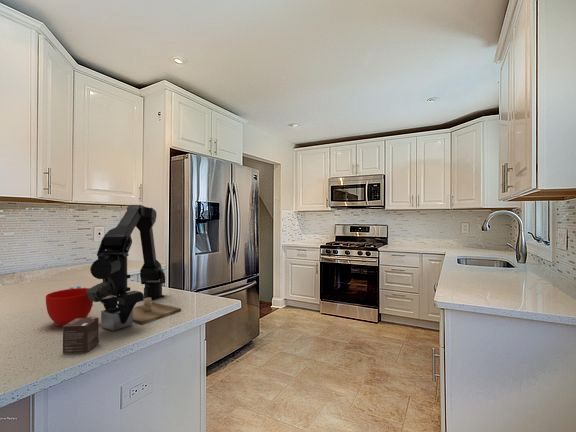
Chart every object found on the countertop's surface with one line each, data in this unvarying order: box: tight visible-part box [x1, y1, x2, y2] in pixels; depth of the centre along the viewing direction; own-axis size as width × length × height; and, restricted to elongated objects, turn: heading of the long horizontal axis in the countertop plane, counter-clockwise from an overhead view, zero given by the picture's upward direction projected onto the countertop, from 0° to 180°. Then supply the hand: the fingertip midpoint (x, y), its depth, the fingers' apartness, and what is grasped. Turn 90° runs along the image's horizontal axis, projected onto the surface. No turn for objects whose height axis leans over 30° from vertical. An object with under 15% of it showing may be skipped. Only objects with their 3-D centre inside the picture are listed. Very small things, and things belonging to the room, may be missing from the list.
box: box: [62, 317, 100, 355], centre depth 81 cm, size 6×6×7 cm
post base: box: [133, 298, 182, 326], centre depth 110 cm, size 16×16×6 cm
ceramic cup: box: [45, 287, 94, 328], centre depth 102 cm, size 13×17×10 cm
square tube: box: [100, 306, 134, 332], centre depth 97 cm, size 6×6×5 cm
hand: (117, 321), depth 97 cm, fingers closed on square tube, 6 cm apart
